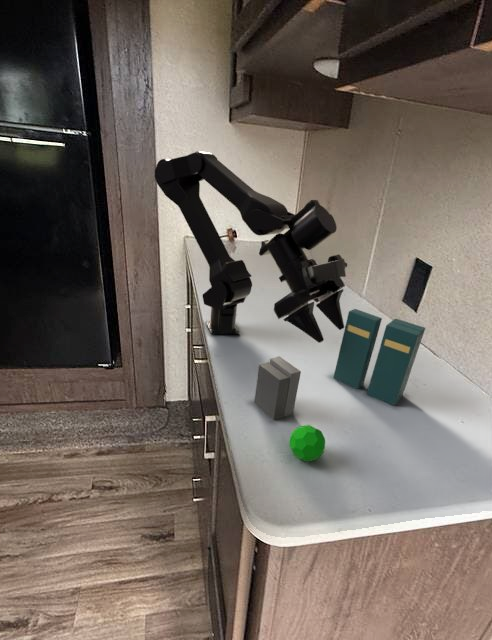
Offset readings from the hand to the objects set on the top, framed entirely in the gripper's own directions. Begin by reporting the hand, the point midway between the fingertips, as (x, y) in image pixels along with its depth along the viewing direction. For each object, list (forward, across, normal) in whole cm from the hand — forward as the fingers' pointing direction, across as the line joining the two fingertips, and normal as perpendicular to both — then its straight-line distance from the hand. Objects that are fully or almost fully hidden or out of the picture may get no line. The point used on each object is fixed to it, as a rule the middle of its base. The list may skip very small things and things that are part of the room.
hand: (332, 334), depth 77 cm
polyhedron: (+13, -26, -1) cm, 29 cm away
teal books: (+15, 0, -4) cm, 15 cm away
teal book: (+10, -1, +2) cm, 10 cm away
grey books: (+6, -19, +6) cm, 20 cm away
